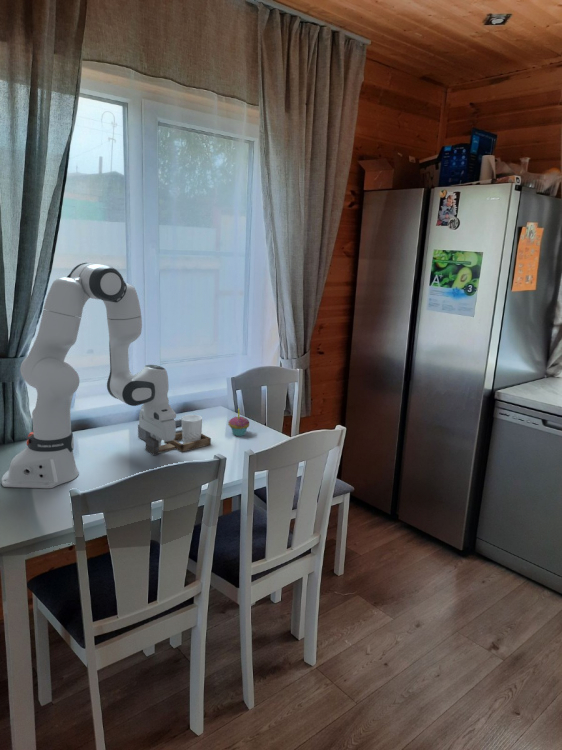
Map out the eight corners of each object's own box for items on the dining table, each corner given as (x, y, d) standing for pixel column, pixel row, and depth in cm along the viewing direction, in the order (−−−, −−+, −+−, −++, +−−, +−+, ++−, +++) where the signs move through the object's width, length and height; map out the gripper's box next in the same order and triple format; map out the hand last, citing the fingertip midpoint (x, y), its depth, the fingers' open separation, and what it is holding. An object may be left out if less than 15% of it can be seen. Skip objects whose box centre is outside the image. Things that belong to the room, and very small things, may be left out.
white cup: (191, 448, 207) (191, 422, 204) (176, 442, 211) (176, 417, 209) (206, 442, 213) (206, 417, 210) (192, 437, 217) (192, 413, 215)
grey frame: (149, 443, 209) (149, 431, 208) (134, 434, 217) (134, 422, 216) (199, 431, 223) (199, 420, 222) (183, 424, 232) (183, 412, 231)
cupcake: (248, 438, 220) (249, 409, 217) (226, 437, 220) (227, 408, 217) (249, 430, 228) (250, 403, 225) (229, 429, 228) (229, 402, 225)
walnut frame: (158, 457, 196) (157, 444, 195) (141, 447, 204) (141, 434, 203) (210, 444, 211) (210, 431, 209) (193, 435, 219) (193, 423, 218)
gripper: (134, 403, 204) (135, 439, 207) (162, 418, 189) (163, 456, 192) (149, 401, 208) (150, 435, 211) (178, 414, 193) (178, 452, 196)
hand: (156, 445), depth 202 cm, fingers closed, pressing on walnut frame
